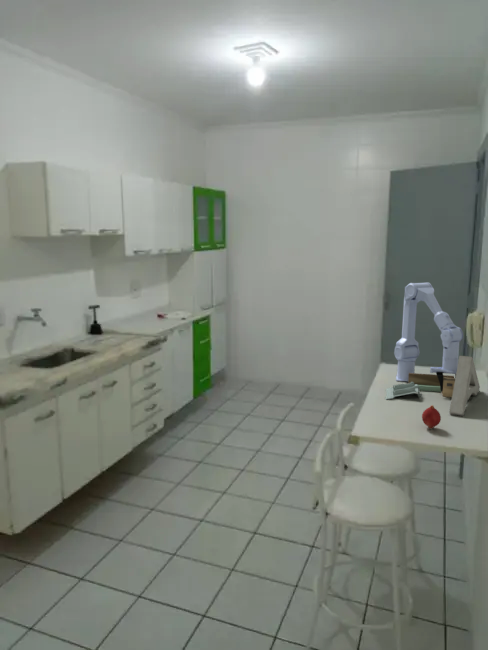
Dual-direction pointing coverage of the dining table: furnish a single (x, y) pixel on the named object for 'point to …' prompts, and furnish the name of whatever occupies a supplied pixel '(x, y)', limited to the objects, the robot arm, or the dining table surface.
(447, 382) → the cabinet block
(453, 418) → the dining table surface
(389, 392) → the metal bracket
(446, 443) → the dining table surface
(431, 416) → the onion
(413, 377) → the wall board
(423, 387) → the cleat ledge
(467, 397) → the white letter a
